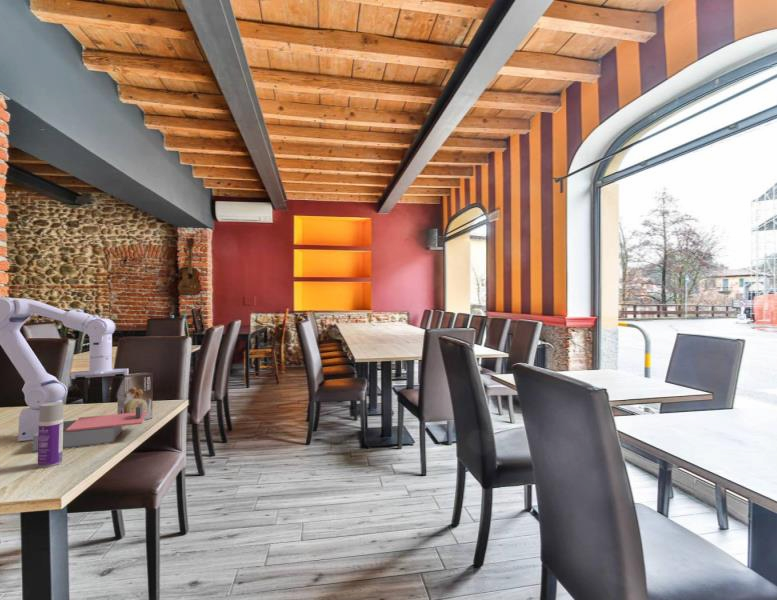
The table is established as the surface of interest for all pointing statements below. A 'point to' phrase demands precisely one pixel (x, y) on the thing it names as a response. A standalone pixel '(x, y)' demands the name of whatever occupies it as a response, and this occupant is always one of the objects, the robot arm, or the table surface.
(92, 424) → the lid
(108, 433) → the carton
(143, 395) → the coffee box
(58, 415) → the container
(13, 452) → the table surface
